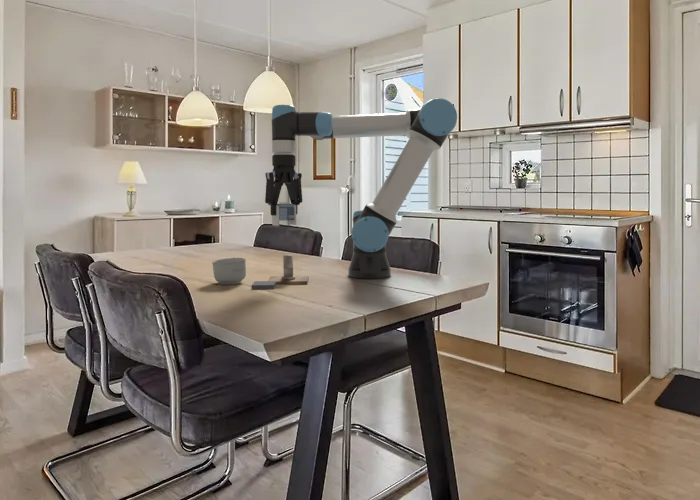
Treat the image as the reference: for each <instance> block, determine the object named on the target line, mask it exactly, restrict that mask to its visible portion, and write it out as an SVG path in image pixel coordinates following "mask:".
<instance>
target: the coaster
mask: <svg viewBox="0 0 700 500" xmlns="http://www.w3.org/2000/svg"><path fill="white" fill-rule="evenodd" d="M276 286H278V285H277V284H276V281H268V280H256V281H254V282H253V283H252V284H251V289H252V290H274V289H275V288H276Z"/></svg>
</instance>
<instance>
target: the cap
mask: <svg viewBox="0 0 700 500" xmlns="http://www.w3.org/2000/svg"><path fill="white" fill-rule="evenodd" d="M276 206H279V221H289V220H295V208H294V204H291V201H290V202H289V201H278V203H277V205H276Z"/></svg>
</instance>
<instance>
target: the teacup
mask: <svg viewBox="0 0 700 500" xmlns="http://www.w3.org/2000/svg"><path fill="white" fill-rule="evenodd" d="M211 264H212V270H213V278H214V279H215V281H216V282H217V283H219V284H220V285H222V286H223V285H224V286H226V285H227V286H230V285H236V284H240V283H242V281H243V280H244V279H245V278H246V275H247V267H246V266H247V265H246V258H244V257H229V258H228V257H227V258H221V259H216V260H213V261H212V262H211Z"/></svg>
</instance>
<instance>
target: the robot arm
mask: <svg viewBox="0 0 700 500" xmlns="http://www.w3.org/2000/svg"><path fill="white" fill-rule="evenodd" d="M457 120H458V113H457V109H456V108H455V106H454V104H453V103H452V102H450V101H449V100H448V99H446V98H442V97H441V98H440V97H439V98H438V97H436V98H431V99H429V100H427V101H426V102H425V103H424V104H423V105H422V106H421V107H419V108H414V109H408V110H406V111H405V112H399V113H394V112H393V113H379V114H378V113H374V114H372V113H371V114H354V115H353V114H351V115H350V114H349V115H333V114H332V113H331V112H327V111H326V112H325V111H306V112H305V111H302V112H301V111H296V107H295V106H294V105H291V104H276V105H274V106H273V107H272V110H271V134H272V135H271V149H272V150H271V151H272V152H271V153H273V154H272V155H271V156H272V157H271V160H272V161H271V162H272V163H271V164H272V166H273V169H272V171H271V172H265V178H266V183H265V184H266V185H265V198H264V203H265V204H268V206H270V216H271V219H272V220H271V224H272V225H271V226H274V227H280V220H279V206H276V205H277V204H279V199H280V194H281V191H282V187H283V186H284V185H285V187H286V189H287V194H288V198H289V201H290V204H294V208H295V220H288V224H289V225H293V226H296V225H297V215H298V213H299V212H298V206H299V205H300V204H301V203H303V191H302V177H303V176H302V173H301V172H300V173H299V172H296V170H295V166H296V164H297V163H296V155H295V154H296V137H297V136H298V137H302V136H303V137H304V136H305V137H311V139H313V140H315V141H323V140H330V139H347V138H348V139H349V138H352V139H353V138H372V137H378V138H379V137H396V136H398V137H399V136H400V137H402V136H405V137H407V138H408V141H407V143H406V144H405V146H404V147H403V149H402V151H401V153H400V154H399V157H397V160H396V161H395V163H394V165H393V167H392V168H391V170H390V172H389V174H388V175H387V177H386V179H385V180H384V182H383V184H382V186H381V187H380V189H379V191H378V193H377V195H376V196H375V197H374V199H373V201H372V202H370V203H366V204H365V205H364V208H363V209H362V210H356V211H354V212H353V215H352V228H351V239H352V242H353V243H352V246H353V247H352V248H353V249H352V256H351V261H350V262H349V266H348V270H347V271H348V272H347V273H348V276H349V277H350V278H355V279H356V278H357V279H368V280H369V279H371V280H372V279H374V280H375V279H383V278H384V279H385V278H388V277H391V266H390V263H389V261H388V256H387V245H386V244H387V243H388V241H389V236H390V235H391V233H392V231H393V230H394V228H395V226H396V224H397V222H398V221H397V217H396V215H397V214H398V212H399V210H400V208H401V207H402V205H403V203H404V202H405V200H406V198H407V196H408V195H409V193H410V191H411V189H412V188H413V186H414V185H415V183H416V181H417V179H418V178H419V175H420V174H421V173H422V171H423V170H424V167H425V166H426V164H427V162H428V161H429V159H430V157H431V156H432V154H433V152H435V151H437V150H440V149H441V148H442V146H443V145H444V142H445V141H446V139H447V138H448V136H449V134H450V133H451V132H452V131H453V130H454V129H455V127H456V125H457V123H458V122H457Z"/></svg>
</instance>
